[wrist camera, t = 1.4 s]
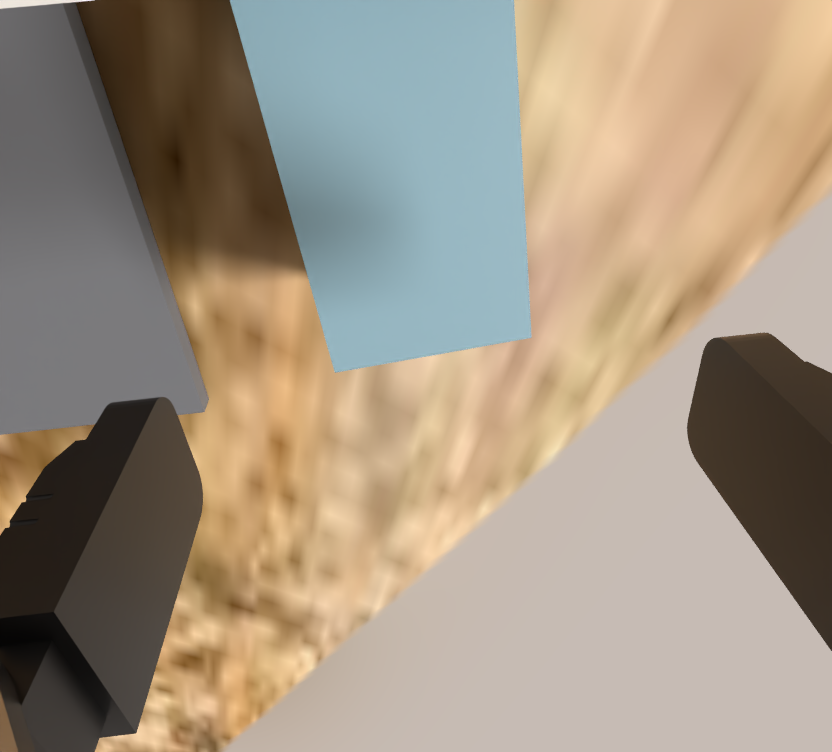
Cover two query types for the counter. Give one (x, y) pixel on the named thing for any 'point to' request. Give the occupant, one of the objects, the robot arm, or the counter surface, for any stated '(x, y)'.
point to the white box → (32, 2)
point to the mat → (75, 243)
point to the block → (398, 167)
